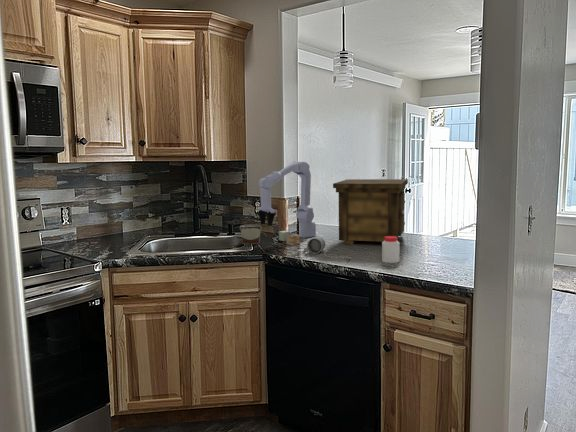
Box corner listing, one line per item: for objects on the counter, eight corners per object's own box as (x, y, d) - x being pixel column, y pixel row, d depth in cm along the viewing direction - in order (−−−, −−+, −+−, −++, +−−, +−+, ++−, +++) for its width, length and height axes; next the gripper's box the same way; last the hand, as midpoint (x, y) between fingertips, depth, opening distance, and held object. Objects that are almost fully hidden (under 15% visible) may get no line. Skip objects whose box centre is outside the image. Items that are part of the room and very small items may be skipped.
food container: (263, 241, 269) (263, 224, 268) (262, 243, 263) (261, 225, 262) (242, 241, 270) (241, 224, 269) (239, 243, 264) (239, 226, 263)
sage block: (285, 239, 276) (285, 230, 275) (290, 240, 272) (289, 231, 272) (279, 240, 273) (278, 231, 272) (283, 241, 270) (283, 232, 269)
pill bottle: (379, 259, 220) (379, 235, 219) (396, 258, 221) (396, 235, 219) (384, 263, 212) (384, 238, 211) (401, 262, 213) (402, 238, 212)
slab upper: (293, 238, 264) (293, 234, 264) (299, 239, 261) (299, 235, 260) (286, 239, 261) (286, 235, 261) (292, 240, 258) (292, 236, 257)
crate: (347, 234, 288) (346, 179, 284) (407, 236, 277) (407, 179, 273) (333, 245, 255) (333, 183, 251) (401, 248, 244) (401, 183, 240)
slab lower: (293, 243, 265) (293, 238, 264) (299, 244, 261) (299, 239, 260) (286, 244, 262) (286, 239, 262) (292, 245, 258) (292, 241, 258)
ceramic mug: (326, 250, 242) (326, 235, 241) (322, 254, 234) (321, 238, 233) (306, 250, 245) (305, 235, 244) (301, 253, 238) (300, 238, 237)
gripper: (253, 199, 267) (253, 223, 269) (266, 201, 255) (266, 227, 257) (264, 198, 271) (264, 222, 273) (277, 200, 259) (278, 225, 261)
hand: (266, 224), depth 265 cm, fingers open, 7 cm apart
